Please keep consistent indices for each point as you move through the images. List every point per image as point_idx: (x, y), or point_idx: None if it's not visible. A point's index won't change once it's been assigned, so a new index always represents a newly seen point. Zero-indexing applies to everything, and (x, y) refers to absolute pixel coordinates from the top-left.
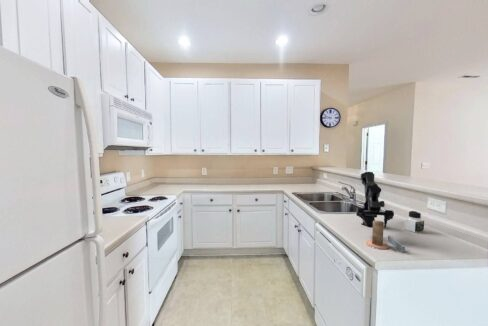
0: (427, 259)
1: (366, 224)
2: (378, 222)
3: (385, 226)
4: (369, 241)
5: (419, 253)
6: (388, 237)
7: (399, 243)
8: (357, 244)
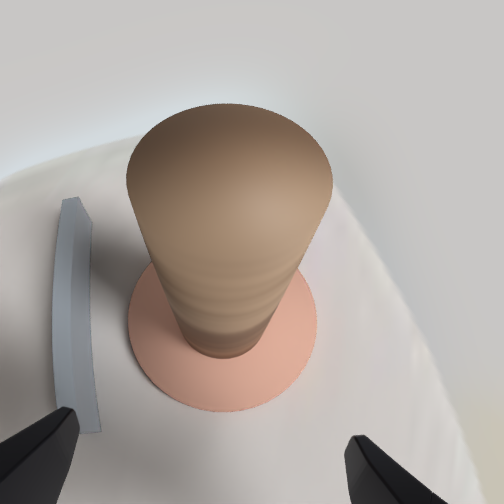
0: (22, 177)
1: (364, 438)
2: (235, 137)
3: (60, 411)
4: (282, 351)
5: (5, 237)
6: (83, 421)
7: (62, 249)
8: (374, 282)
